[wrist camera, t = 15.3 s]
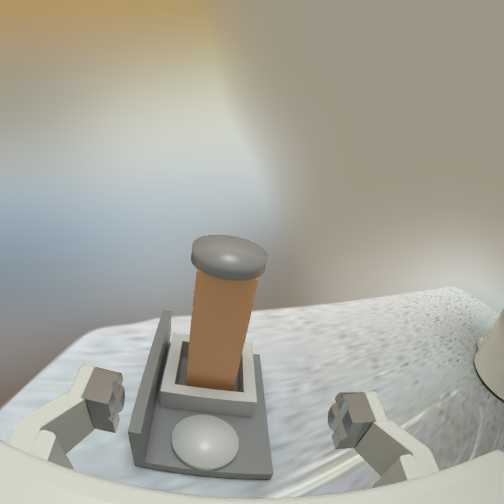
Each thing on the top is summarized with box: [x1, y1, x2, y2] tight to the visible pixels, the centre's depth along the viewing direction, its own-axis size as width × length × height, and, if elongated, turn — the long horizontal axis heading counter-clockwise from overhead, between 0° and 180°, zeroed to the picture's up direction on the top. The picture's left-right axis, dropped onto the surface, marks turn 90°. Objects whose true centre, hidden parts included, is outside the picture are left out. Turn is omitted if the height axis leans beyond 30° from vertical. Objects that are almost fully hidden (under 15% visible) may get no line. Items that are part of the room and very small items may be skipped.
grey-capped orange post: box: [186, 235, 268, 391], centre depth 24 cm, size 5×5×13 cm
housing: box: [128, 310, 273, 479], centre depth 24 cm, size 10×14×5 cm
